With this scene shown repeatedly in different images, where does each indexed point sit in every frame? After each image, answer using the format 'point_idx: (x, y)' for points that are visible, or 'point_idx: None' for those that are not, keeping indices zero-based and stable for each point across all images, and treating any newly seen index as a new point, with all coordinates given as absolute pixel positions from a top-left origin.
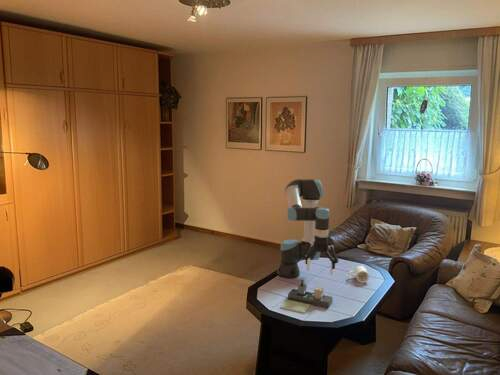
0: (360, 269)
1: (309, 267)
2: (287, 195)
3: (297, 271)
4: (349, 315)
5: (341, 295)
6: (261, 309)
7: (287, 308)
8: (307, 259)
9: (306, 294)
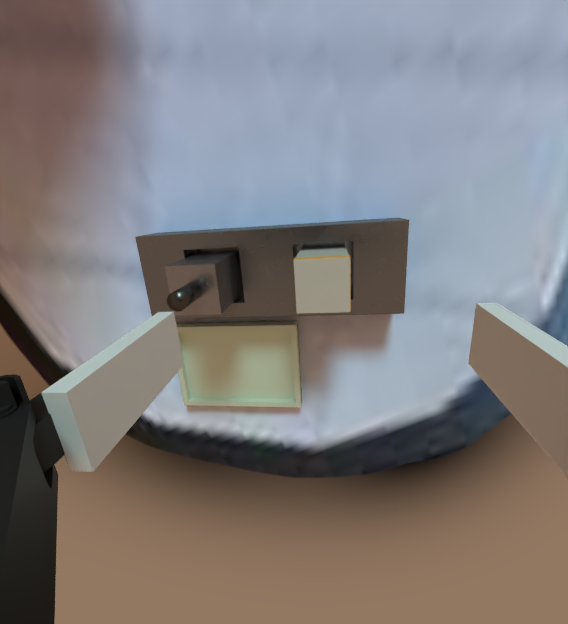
0: None
1: (163, 322)
2: None
3: None
4: (522, 315)
5: (434, 41)
6: (131, 434)
7: (218, 405)
8: (70, 465)
9: (243, 274)
